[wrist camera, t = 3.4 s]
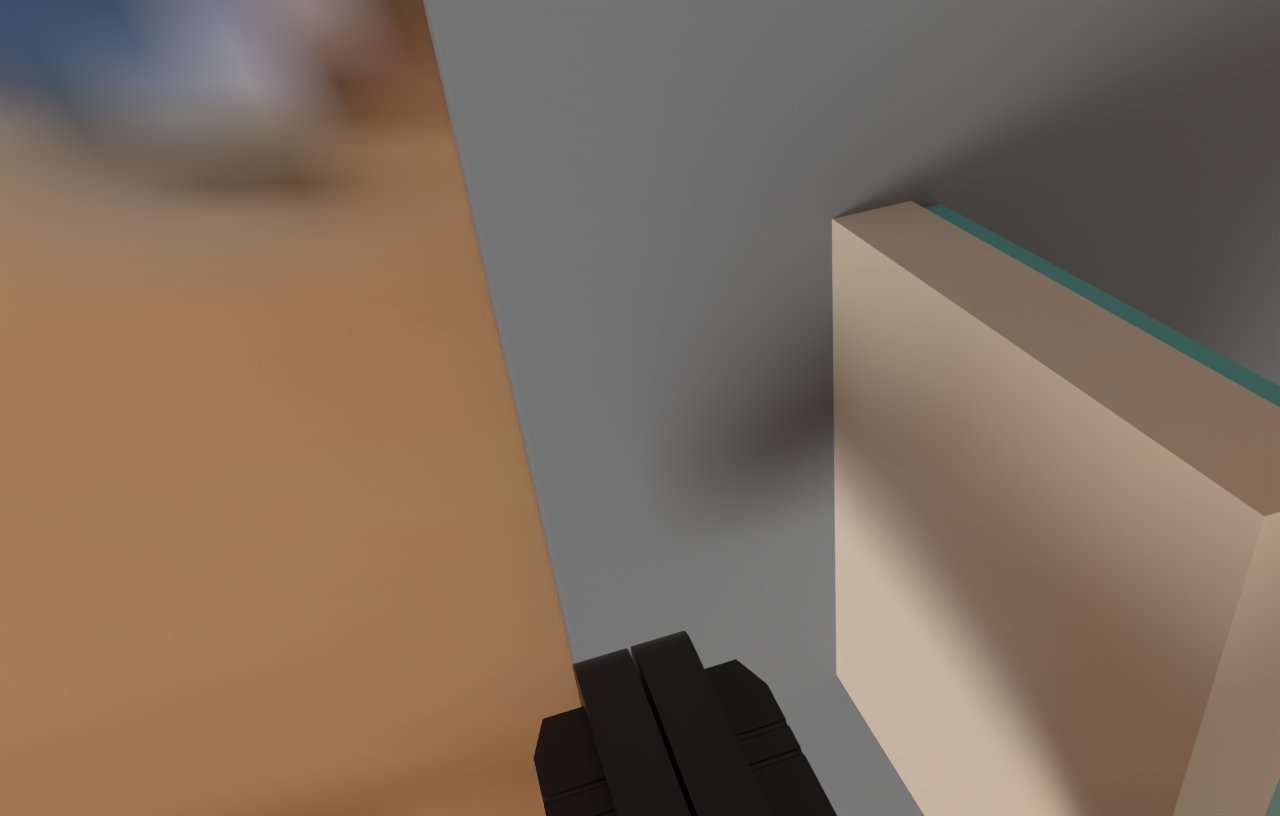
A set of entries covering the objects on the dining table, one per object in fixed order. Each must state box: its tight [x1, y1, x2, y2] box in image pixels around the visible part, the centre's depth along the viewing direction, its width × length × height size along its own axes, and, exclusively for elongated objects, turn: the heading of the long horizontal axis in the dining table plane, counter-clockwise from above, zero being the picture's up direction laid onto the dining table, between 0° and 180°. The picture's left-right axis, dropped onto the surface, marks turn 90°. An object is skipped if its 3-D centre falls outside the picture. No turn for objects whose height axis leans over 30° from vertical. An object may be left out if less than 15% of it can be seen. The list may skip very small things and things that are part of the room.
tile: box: [832, 201, 1280, 816], centre depth 12 cm, size 9×2×7 cm, turn 7°
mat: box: [423, 0, 1280, 816], centre depth 16 cm, size 22×14×1 cm, turn 7°
